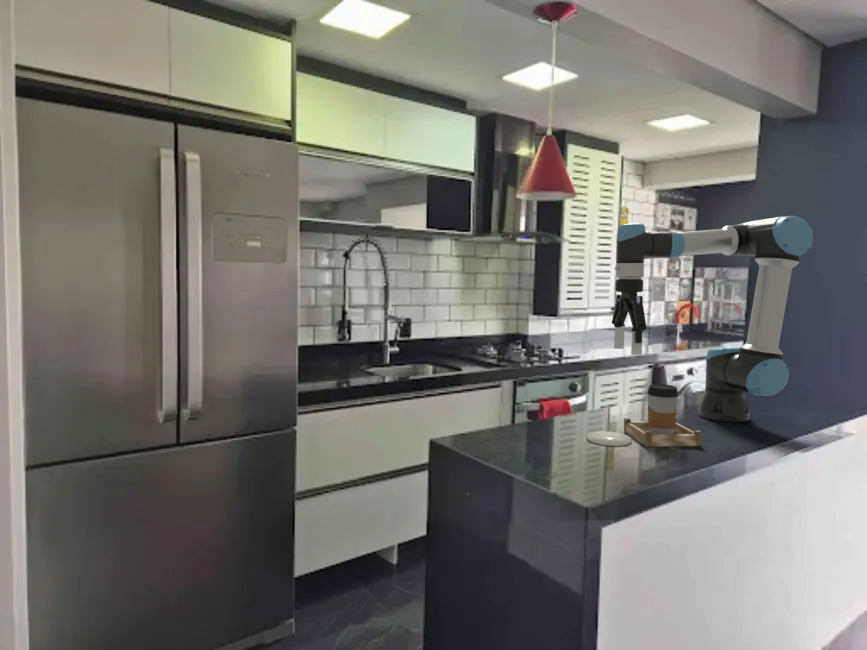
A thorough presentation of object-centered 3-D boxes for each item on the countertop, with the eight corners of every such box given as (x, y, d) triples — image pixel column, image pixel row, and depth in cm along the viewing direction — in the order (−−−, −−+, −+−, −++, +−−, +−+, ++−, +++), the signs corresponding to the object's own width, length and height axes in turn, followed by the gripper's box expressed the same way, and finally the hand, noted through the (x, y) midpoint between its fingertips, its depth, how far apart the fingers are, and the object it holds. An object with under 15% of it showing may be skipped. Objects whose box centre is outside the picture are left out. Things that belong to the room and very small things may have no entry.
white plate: (621, 433, 167) (621, 431, 166) (638, 446, 155) (638, 443, 155) (581, 434, 166) (581, 431, 166) (595, 446, 154) (595, 443, 154)
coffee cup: (679, 443, 157) (682, 390, 156) (647, 441, 159) (650, 388, 158) (673, 435, 165) (675, 384, 164) (643, 433, 167) (645, 383, 166)
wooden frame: (673, 431, 170) (674, 417, 170) (701, 446, 155) (701, 431, 155) (623, 431, 169) (624, 418, 169) (646, 446, 154) (646, 432, 154)
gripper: (602, 278, 176) (600, 346, 178) (633, 278, 151) (631, 357, 153) (626, 278, 176) (624, 346, 178) (661, 278, 151) (658, 357, 153)
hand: (627, 351), depth 165 cm, fingers open, 13 cm apart
